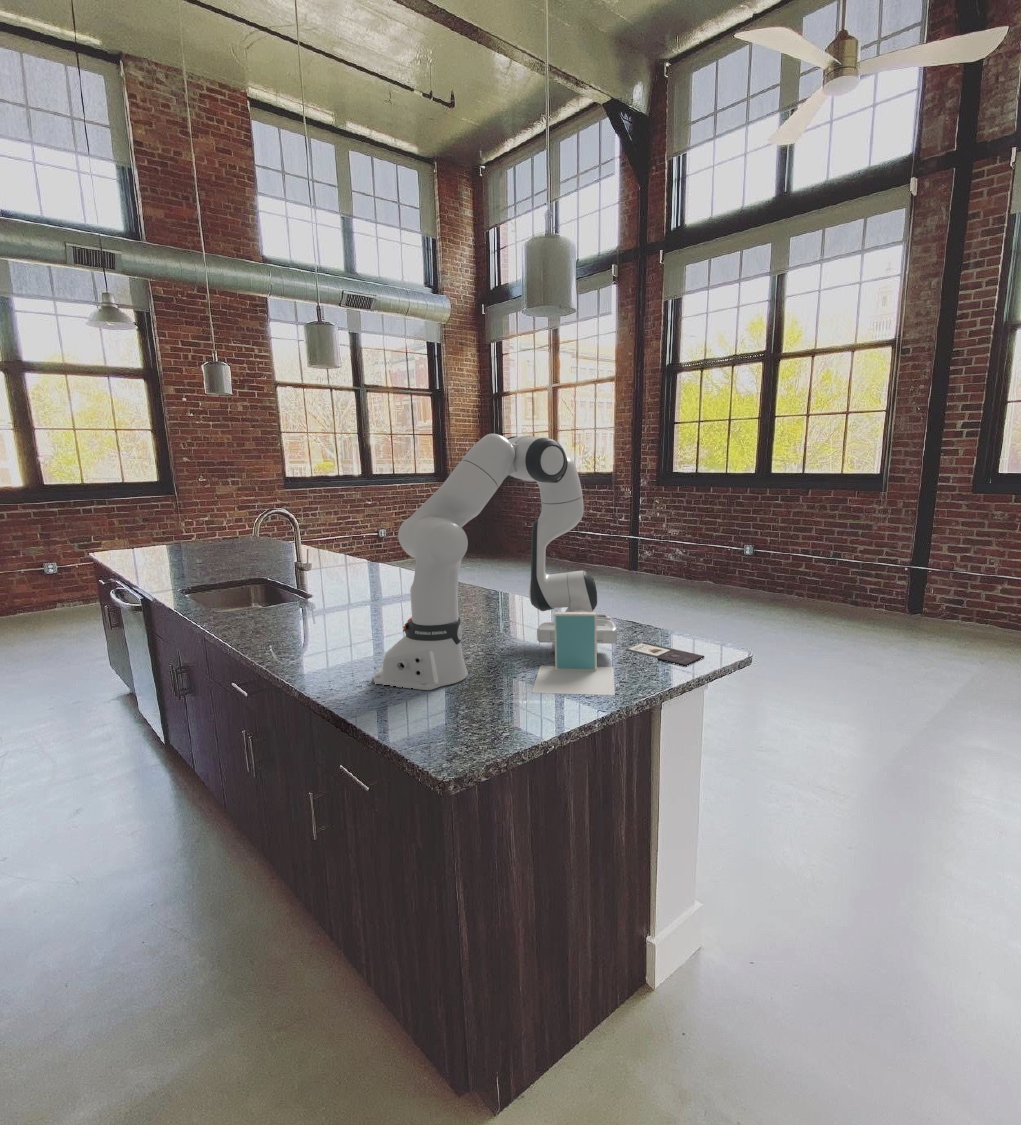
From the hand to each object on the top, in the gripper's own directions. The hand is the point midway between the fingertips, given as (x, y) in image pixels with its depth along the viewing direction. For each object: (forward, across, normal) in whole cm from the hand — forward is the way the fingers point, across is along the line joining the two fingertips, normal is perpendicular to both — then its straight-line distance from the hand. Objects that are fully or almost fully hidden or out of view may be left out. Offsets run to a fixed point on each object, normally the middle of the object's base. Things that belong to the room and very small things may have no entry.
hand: (575, 642), depth 146 cm
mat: (+8, 0, +7) cm, 11 cm away
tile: (+1, 0, +6) cm, 7 cm away
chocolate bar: (-13, +22, +8) cm, 27 cm away
